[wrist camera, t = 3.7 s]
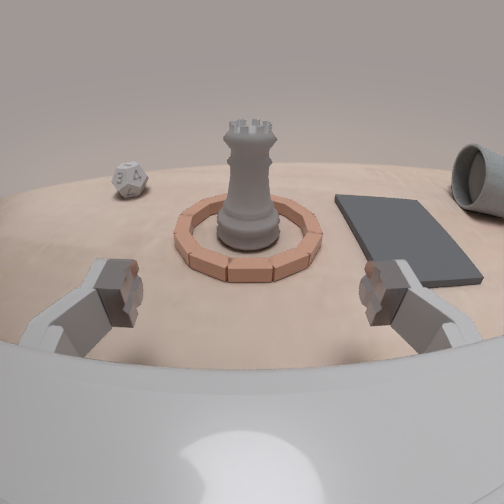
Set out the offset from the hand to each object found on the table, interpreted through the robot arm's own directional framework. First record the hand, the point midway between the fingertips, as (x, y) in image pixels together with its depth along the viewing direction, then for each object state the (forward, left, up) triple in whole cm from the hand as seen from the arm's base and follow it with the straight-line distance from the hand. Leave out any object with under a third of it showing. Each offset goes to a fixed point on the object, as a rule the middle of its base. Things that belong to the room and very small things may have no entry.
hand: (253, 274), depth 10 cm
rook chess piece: (0, +10, -5) cm, 11 cm away
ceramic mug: (+28, +18, -5) cm, 34 cm away
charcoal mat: (+13, +10, -5) cm, 17 cm away
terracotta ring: (0, +10, -5) cm, 11 cm away
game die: (-11, +18, -5) cm, 22 cm away
